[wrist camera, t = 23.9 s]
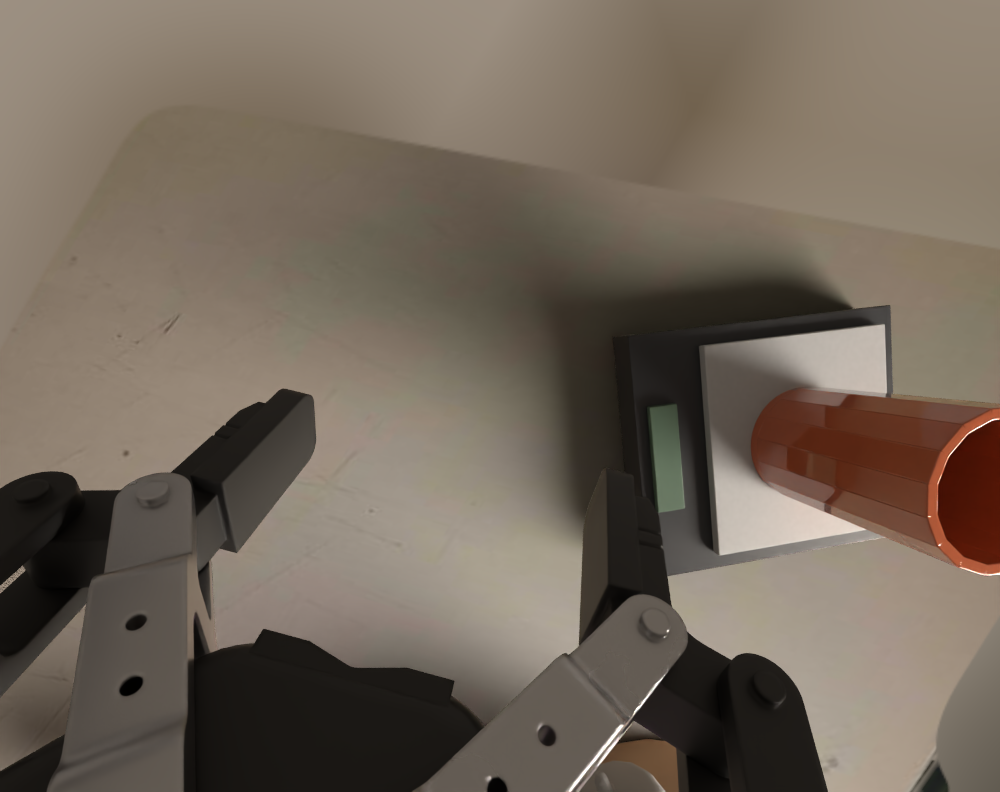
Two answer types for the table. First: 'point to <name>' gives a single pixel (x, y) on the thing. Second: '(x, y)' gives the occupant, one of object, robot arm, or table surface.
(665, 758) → the alarm clock
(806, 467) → the cup
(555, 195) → the table surface
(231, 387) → the table surface
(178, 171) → the table surface
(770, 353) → the scale
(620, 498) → the robot arm
